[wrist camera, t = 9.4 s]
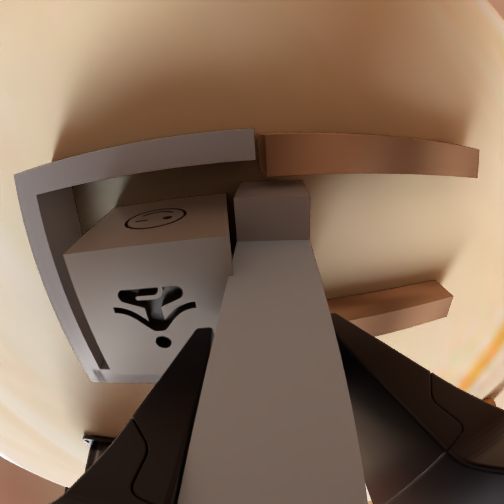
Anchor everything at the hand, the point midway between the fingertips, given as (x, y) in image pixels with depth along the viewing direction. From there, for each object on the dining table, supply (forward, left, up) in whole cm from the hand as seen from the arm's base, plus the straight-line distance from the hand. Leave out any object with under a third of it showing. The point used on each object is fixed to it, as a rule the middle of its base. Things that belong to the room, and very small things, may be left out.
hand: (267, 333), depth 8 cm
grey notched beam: (+1, 0, -6) cm, 6 cm away
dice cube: (-3, 0, -6) cm, 7 cm away
